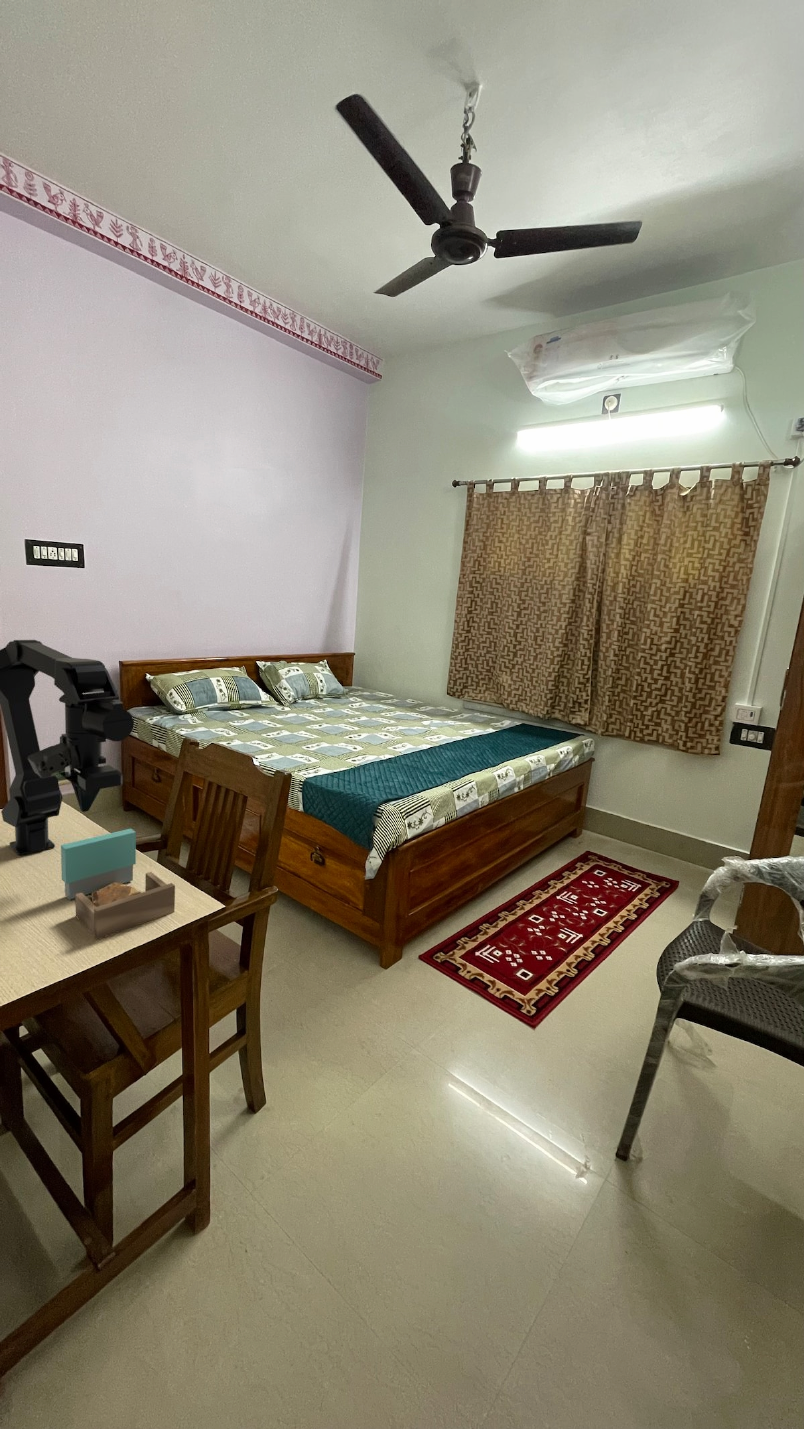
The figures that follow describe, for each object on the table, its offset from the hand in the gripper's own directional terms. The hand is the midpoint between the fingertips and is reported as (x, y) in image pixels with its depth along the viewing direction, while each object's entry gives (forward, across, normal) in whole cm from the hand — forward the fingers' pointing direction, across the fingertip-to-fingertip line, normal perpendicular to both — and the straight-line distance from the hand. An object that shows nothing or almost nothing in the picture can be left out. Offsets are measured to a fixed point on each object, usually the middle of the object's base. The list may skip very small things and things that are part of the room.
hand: (84, 811), depth 106 cm
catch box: (+13, +17, 0) cm, 22 cm away
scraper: (+13, +7, 0) cm, 15 cm away
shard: (+14, +13, 0) cm, 19 cm away
